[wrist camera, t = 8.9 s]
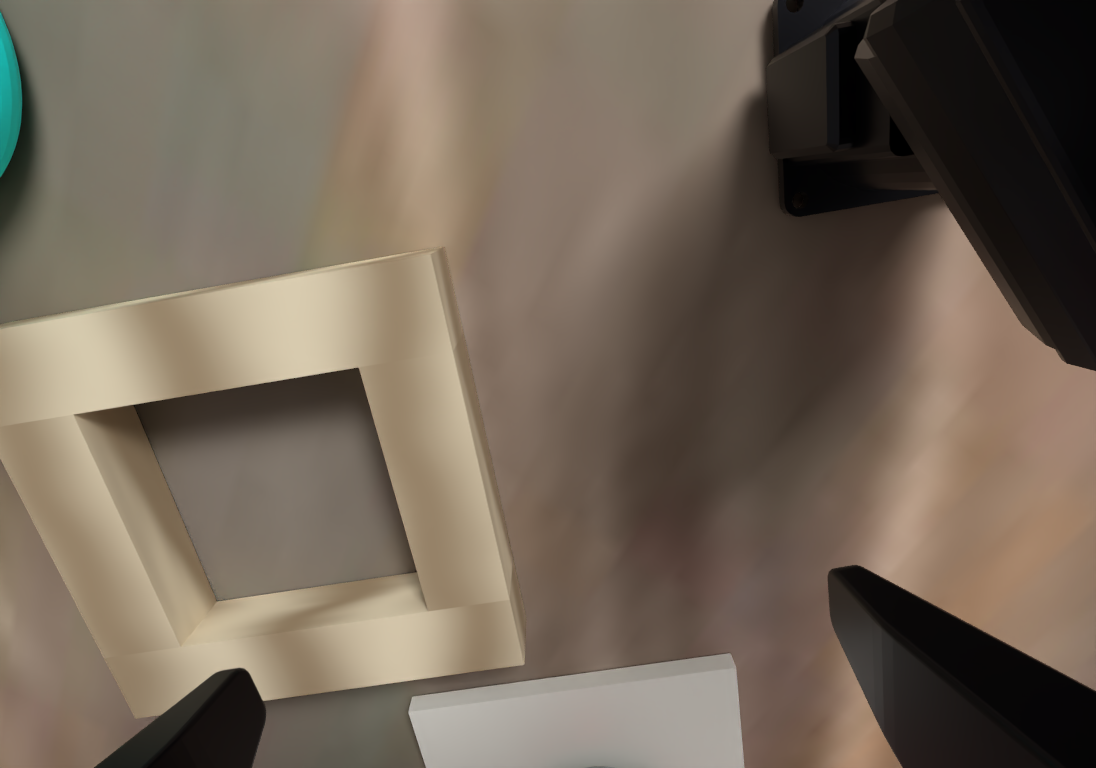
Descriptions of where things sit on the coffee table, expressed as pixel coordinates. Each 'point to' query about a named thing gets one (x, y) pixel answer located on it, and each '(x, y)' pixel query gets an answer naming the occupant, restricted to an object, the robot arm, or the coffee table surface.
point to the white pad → (590, 720)
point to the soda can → (599, 767)
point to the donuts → (8, 97)
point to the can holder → (158, 530)
